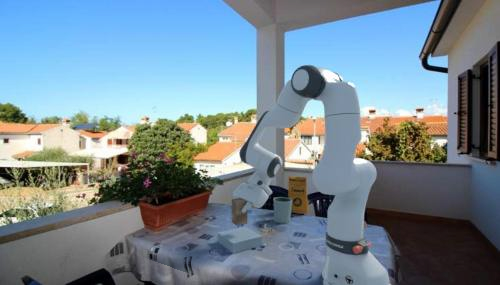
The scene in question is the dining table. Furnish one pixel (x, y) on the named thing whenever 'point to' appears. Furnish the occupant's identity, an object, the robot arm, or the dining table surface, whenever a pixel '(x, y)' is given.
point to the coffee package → (298, 194)
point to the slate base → (239, 239)
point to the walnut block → (239, 212)
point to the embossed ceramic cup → (282, 209)
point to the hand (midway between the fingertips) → (238, 209)
